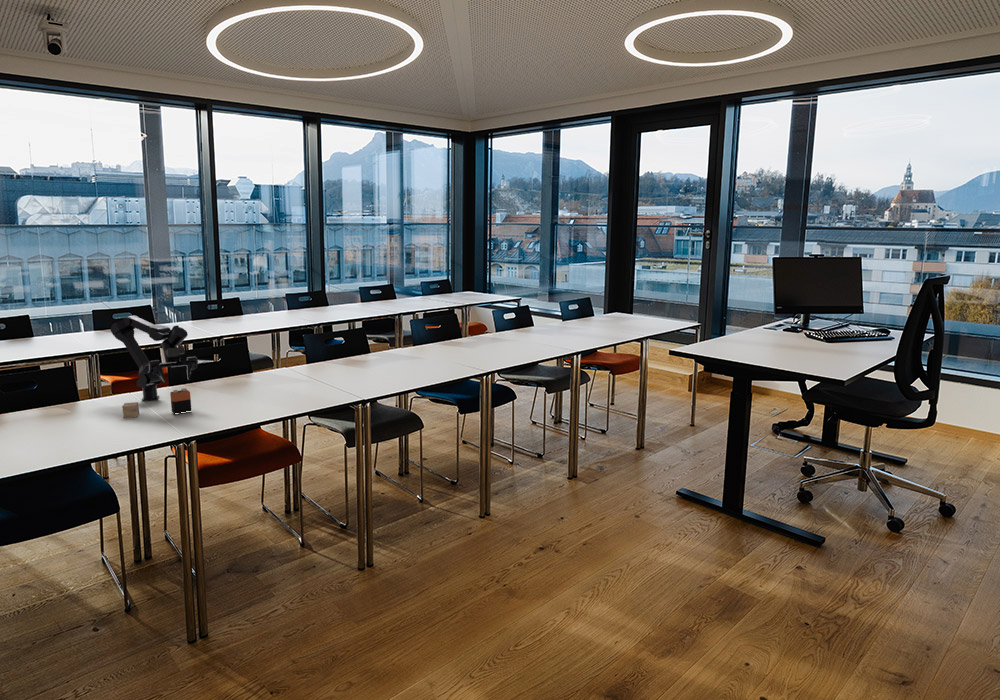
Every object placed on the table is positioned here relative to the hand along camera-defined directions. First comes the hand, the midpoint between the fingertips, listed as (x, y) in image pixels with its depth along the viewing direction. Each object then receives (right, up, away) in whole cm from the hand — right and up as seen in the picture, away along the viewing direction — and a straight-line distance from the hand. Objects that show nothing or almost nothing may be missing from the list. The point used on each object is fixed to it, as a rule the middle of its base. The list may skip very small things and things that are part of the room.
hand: (177, 380), depth 287 cm
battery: (+3, -13, -3) cm, 14 cm away
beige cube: (-15, -14, -8) cm, 22 cm away
